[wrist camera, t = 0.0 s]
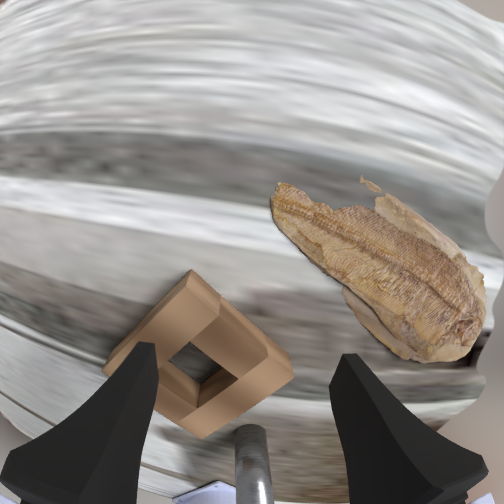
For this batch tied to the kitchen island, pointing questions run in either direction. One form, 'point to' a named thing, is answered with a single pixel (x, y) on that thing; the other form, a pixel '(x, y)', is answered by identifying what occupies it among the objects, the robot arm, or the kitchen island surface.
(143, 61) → the kitchen island surface
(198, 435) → the walnut hole block
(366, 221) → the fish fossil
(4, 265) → the kitchen island surface
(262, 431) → the steel peg
